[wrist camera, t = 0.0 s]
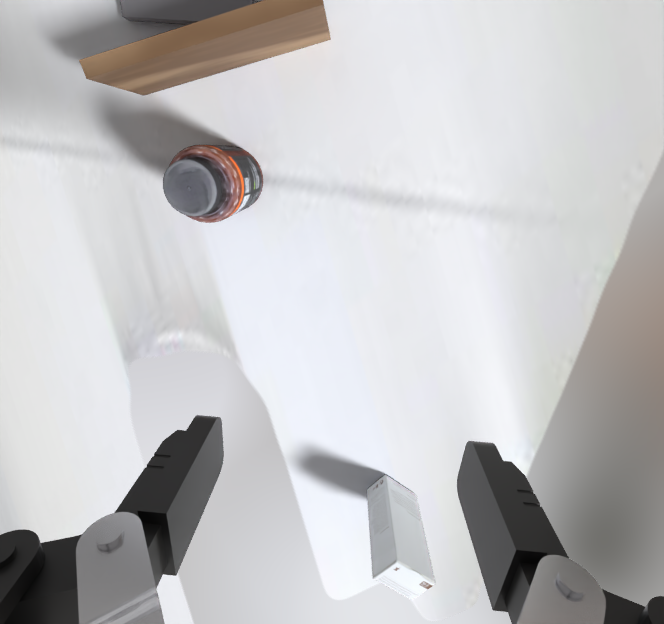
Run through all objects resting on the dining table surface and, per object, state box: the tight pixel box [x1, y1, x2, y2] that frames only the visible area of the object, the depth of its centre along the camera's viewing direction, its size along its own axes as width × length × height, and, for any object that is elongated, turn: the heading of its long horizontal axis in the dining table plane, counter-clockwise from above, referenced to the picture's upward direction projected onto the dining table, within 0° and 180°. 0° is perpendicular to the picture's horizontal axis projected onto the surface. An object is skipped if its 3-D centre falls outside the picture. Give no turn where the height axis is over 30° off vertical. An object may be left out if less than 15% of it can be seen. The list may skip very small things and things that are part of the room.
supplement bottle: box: [163, 145, 263, 223], centre depth 32 cm, size 6×6×11 cm
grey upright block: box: [367, 475, 436, 600], centre depth 46 cm, size 6×4×12 cm
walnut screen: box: [79, 0, 331, 95], centre depth 30 cm, size 1×18×8 cm, turn 103°
